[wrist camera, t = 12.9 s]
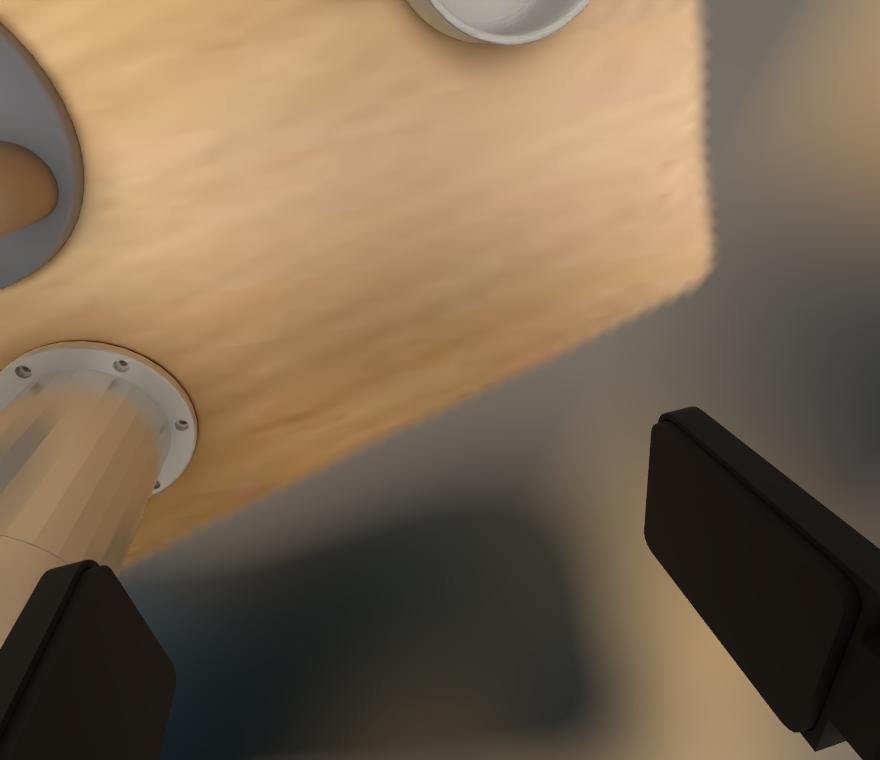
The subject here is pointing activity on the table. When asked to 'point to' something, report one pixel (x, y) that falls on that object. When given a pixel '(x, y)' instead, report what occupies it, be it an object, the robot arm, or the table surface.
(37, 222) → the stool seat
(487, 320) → the table surface
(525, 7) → the teacup
